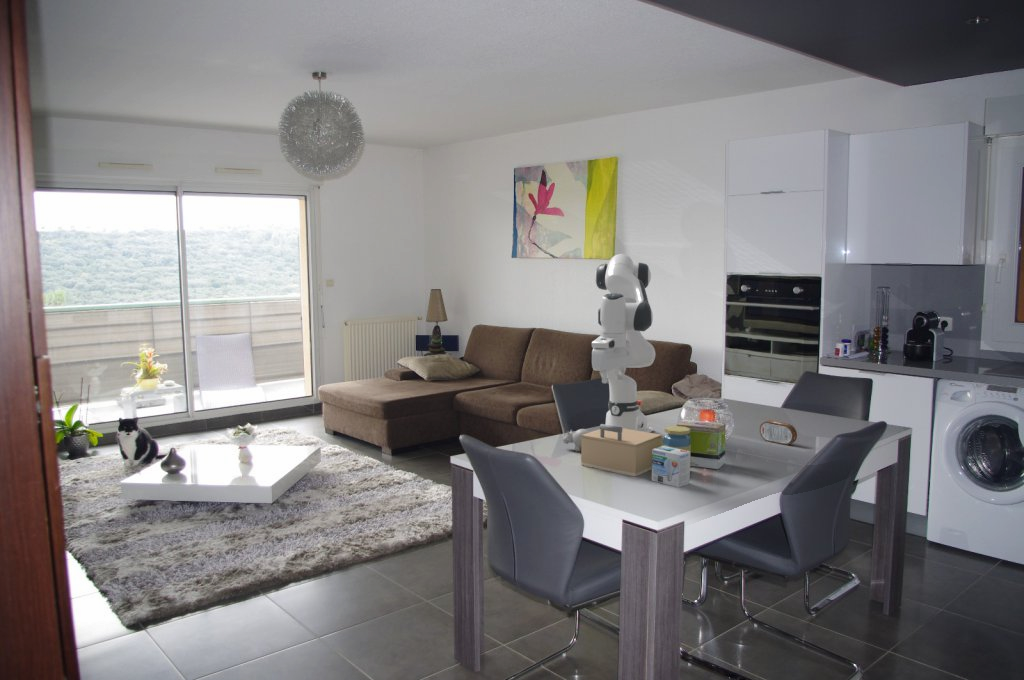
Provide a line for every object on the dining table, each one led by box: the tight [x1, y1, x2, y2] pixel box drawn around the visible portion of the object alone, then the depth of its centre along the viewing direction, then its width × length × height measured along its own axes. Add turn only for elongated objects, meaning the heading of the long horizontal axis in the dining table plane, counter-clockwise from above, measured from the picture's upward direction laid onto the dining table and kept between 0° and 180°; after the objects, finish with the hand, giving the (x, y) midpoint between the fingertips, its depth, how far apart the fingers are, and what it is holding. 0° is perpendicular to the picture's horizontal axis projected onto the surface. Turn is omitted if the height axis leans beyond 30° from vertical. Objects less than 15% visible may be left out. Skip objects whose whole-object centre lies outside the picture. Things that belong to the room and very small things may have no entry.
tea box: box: [676, 419, 726, 470], centre depth 260 cm, size 15×10×15 cm, turn 59°
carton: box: [580, 436, 663, 477], centre depth 260 cm, size 18×22×10 cm
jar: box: [663, 425, 691, 458], centre depth 251 cm, size 9×9×15 cm
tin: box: [759, 419, 798, 446], centre depth 290 cm, size 15×3×8 cm, turn 40°
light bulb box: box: [651, 445, 691, 488], centre depth 240 cm, size 11×7×11 cm, turn 45°
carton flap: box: [581, 423, 663, 447], centre depth 259 cm, size 18×22×5 cm
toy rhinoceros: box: [562, 428, 590, 453], centre depth 281 cm, size 7×12×8 cm, turn 57°
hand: (612, 381), depth 252 cm, fingers open, 8 cm apart
